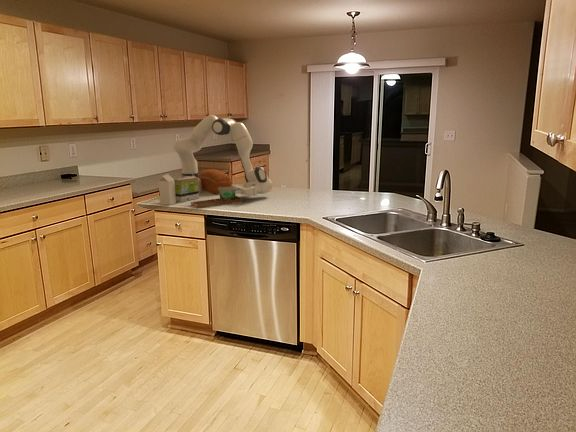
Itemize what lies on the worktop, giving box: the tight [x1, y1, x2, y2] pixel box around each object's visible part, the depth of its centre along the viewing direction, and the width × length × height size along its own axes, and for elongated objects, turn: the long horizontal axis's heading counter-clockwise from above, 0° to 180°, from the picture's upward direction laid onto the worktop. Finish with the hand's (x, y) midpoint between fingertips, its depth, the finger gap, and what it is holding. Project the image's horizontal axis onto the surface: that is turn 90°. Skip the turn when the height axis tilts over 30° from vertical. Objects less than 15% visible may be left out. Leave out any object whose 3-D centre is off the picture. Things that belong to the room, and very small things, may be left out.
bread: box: [198, 168, 233, 195], centre depth 313 cm, size 14×33×16 cm, turn 39°
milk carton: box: [158, 173, 177, 206], centre depth 270 cm, size 7×7×19 cm
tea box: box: [172, 176, 200, 203], centre depth 283 cm, size 15×10×15 cm
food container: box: [218, 186, 237, 202], centre depth 274 cm, size 12×6×10 cm, turn 105°
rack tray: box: [190, 195, 244, 209], centre depth 271 cm, size 11×31×2 cm, turn 123°
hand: (231, 190), depth 275 cm, fingers open, 8 cm apart
